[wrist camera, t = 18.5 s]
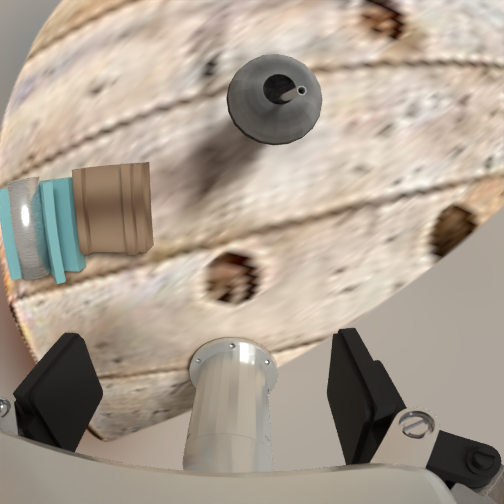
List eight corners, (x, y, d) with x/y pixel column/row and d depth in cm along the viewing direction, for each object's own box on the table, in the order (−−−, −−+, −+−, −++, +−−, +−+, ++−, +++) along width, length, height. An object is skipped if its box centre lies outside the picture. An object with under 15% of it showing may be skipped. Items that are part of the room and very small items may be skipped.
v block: (86, 266, 38) (63, 284, 32) (31, 264, 38) (7, 280, 32) (76, 176, 34) (49, 182, 28) (20, 184, 34) (-8, 191, 28)
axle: (56, 267, 35) (42, 280, 31) (31, 267, 34) (16, 280, 30) (45, 175, 31) (27, 179, 27) (19, 179, 31) (0, 183, 27)
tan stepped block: (153, 244, 37) (143, 255, 33) (90, 244, 37) (75, 254, 33) (149, 162, 34) (137, 163, 30) (83, 168, 34) (67, 170, 30)
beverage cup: (275, 74, 31) (303, -8, 12) (311, 126, 33) (383, 98, 14) (221, 108, 32) (185, 56, 13) (258, 160, 34) (268, 169, 15)
